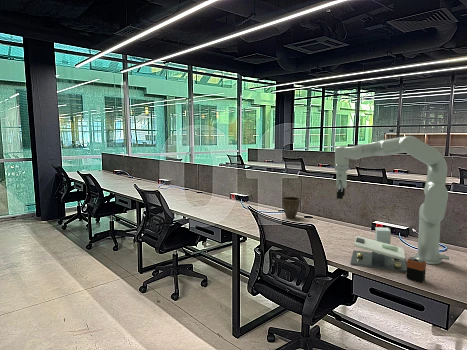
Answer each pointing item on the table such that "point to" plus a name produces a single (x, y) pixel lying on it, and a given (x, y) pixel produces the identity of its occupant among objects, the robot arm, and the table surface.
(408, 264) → the battery
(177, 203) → the table surface
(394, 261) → the tribrach base
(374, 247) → the level plate
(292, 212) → the plant pot
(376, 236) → the supplement box
